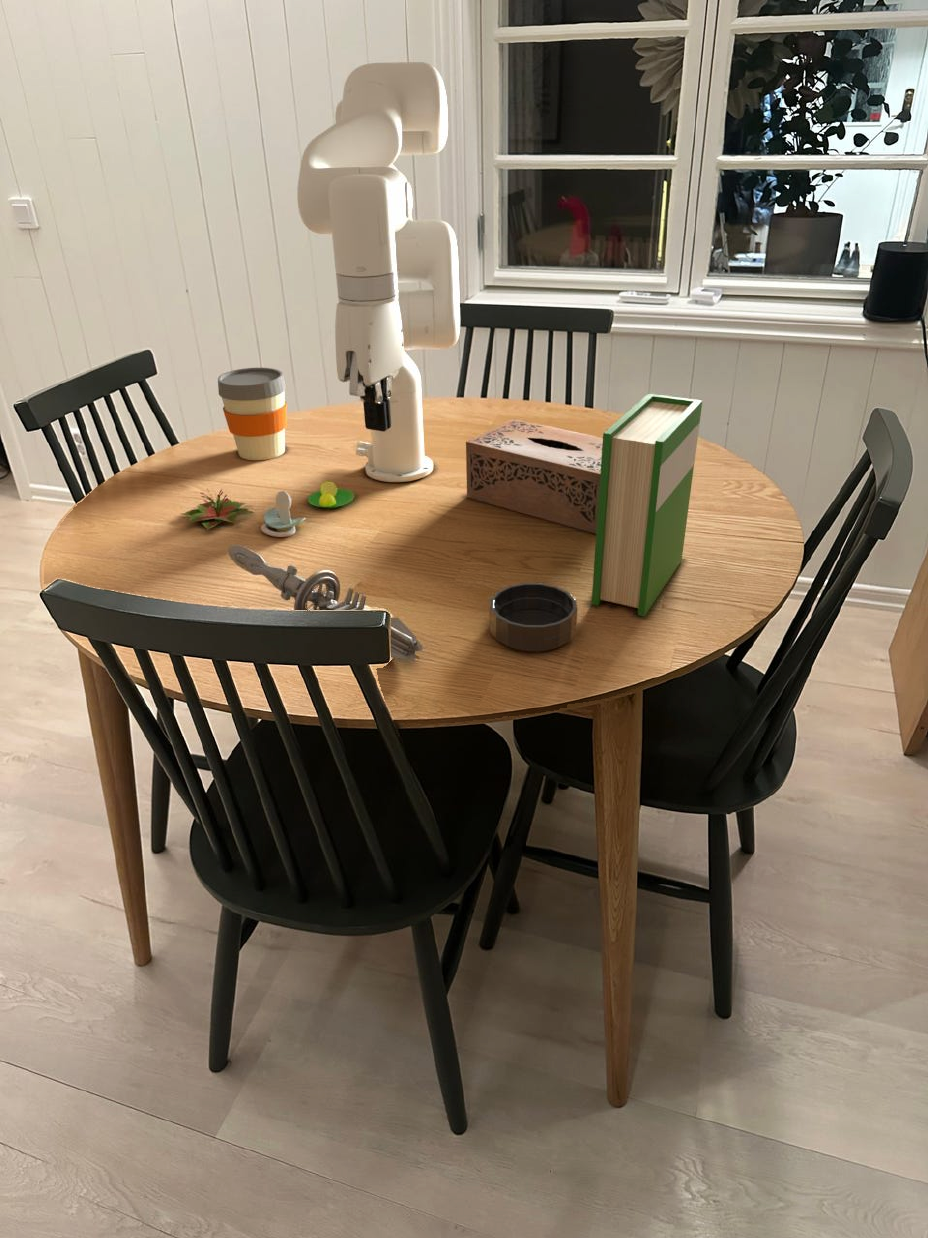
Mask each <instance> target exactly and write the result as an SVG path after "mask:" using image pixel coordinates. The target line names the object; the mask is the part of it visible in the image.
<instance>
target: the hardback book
mask: <svg viewBox="0 0 928 1238" xmlns="http://www.w3.org/2000/svg"><path fill="white" fill-rule="evenodd" d="M702 406H703V400H700V399H694V398H686V397H680V396H679V397H678V396H670V395H663V394H656V393H647V394H646V395H645V396H643V398H642V399H640V400H639V401H638V402H637V403H636V404H635V405H633V406H632V407H631V408H630V409H629V410H627V412H626V413H624V414H623V415H622V416H621V417H620V418H619V419H617V420H616V421H615V422H614V423H613V424H612V425H610V427H608V428H607V429H606V430H605V431H604V432H603V433H602V437H603V444H602V459H601V473H600V487H599V502H598V516H597V531H596V534H595V545H594V546H595V548H594V562H593V574H592V575H593V576H592V590H591V605H593V606H599V605H600V604H601V602H602V601H606V602H610V603H613V604H614V603H615V604H619V605H622V606H627V607H631V608H636V609H637V616H640V617H646V615H647V614H648V612H649V611H650V609H651V607H652V606H653V605H654V603H655V602H656V600H657V599H658V597H659V596H660V594H661V593H662V591H663V590H664V588H665V586H666V585H667V584H668V582H669V581H670V579H671V577H672V576H673V575H674V573H675V572H676V570H677V568H678V567H679V566H680V564H681V563H682V561H683V554H684V546H685V538H686V530H687V523H688V516H689V515H688V514H689V507H690V502H691V501H690V499H691V492H692V484H693V477H694V469H695V461H696V453H697V447H698V440H699V439H698V438H699V431H700V429H699V428H700V422H701V415H702V409H703V407H702Z"/></svg>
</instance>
